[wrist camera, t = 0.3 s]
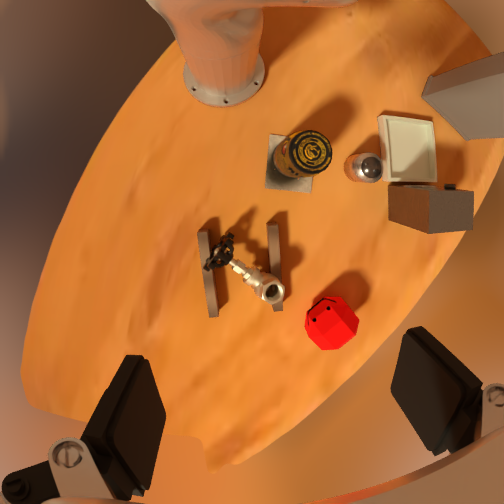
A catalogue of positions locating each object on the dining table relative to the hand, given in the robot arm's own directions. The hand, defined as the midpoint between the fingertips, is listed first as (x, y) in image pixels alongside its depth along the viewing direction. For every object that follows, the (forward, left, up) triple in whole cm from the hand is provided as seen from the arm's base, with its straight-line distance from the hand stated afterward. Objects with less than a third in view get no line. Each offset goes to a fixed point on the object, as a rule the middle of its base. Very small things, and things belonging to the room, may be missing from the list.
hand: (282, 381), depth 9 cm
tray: (-11, +29, -36) cm, 48 cm away
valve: (+8, -1, -37) cm, 37 cm away
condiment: (-9, +7, -37) cm, 38 cm away
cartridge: (-8, +18, -36) cm, 41 cm away
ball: (+17, +12, -37) cm, 42 cm away
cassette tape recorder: (-21, +41, -37) cm, 59 cm away
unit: (-2, +29, -36) cm, 47 cm away
